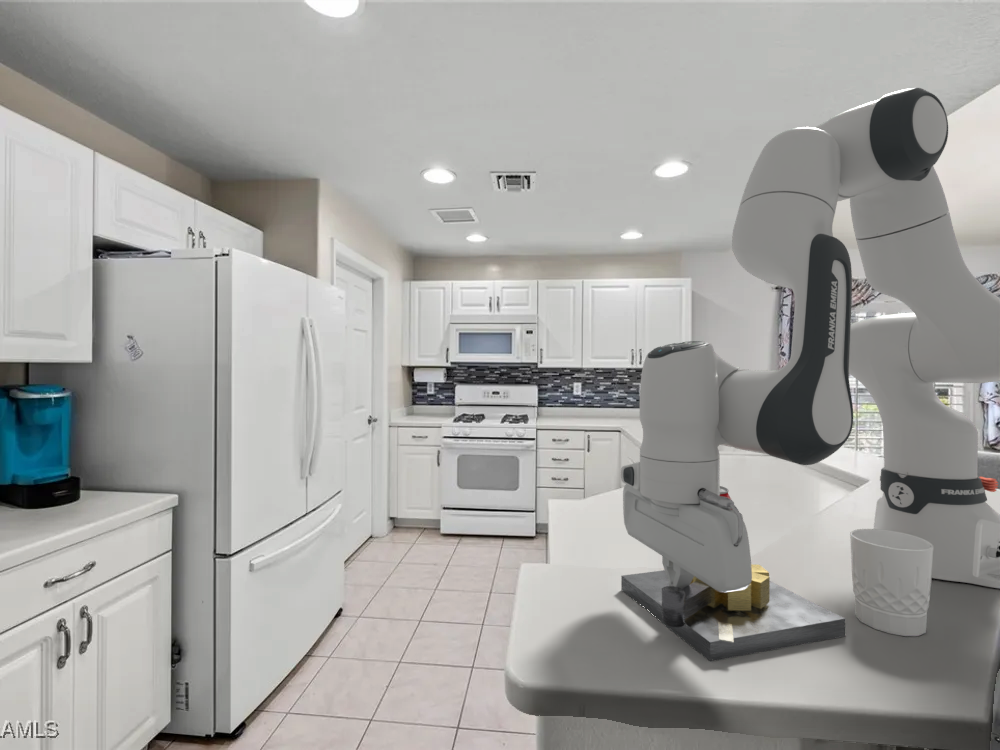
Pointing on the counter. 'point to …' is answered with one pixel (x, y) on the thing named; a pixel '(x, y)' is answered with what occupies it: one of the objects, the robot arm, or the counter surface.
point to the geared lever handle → (713, 597)
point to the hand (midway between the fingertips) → (679, 597)
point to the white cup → (891, 580)
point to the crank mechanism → (741, 620)
